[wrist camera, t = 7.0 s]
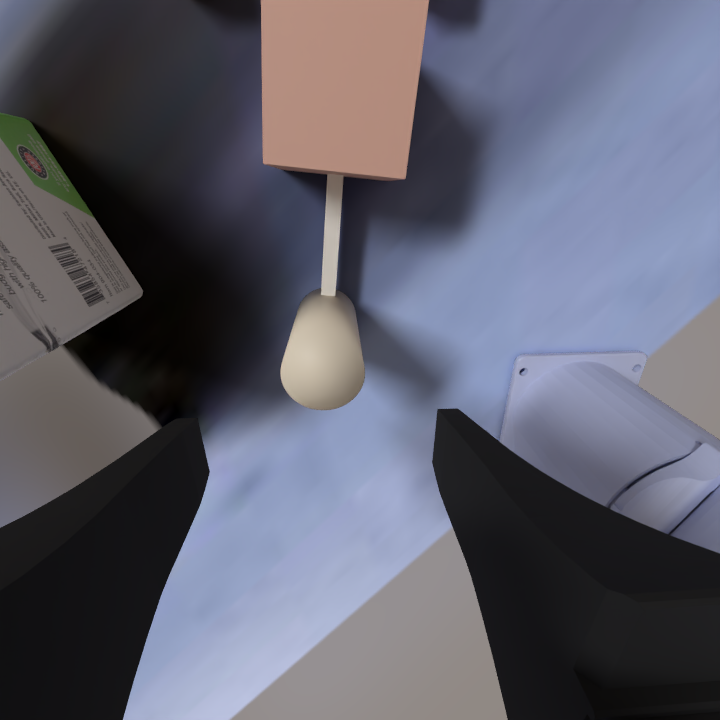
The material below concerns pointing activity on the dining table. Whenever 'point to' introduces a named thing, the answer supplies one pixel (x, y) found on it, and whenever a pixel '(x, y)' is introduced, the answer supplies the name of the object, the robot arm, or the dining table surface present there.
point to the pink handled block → (336, 149)
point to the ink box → (49, 254)
